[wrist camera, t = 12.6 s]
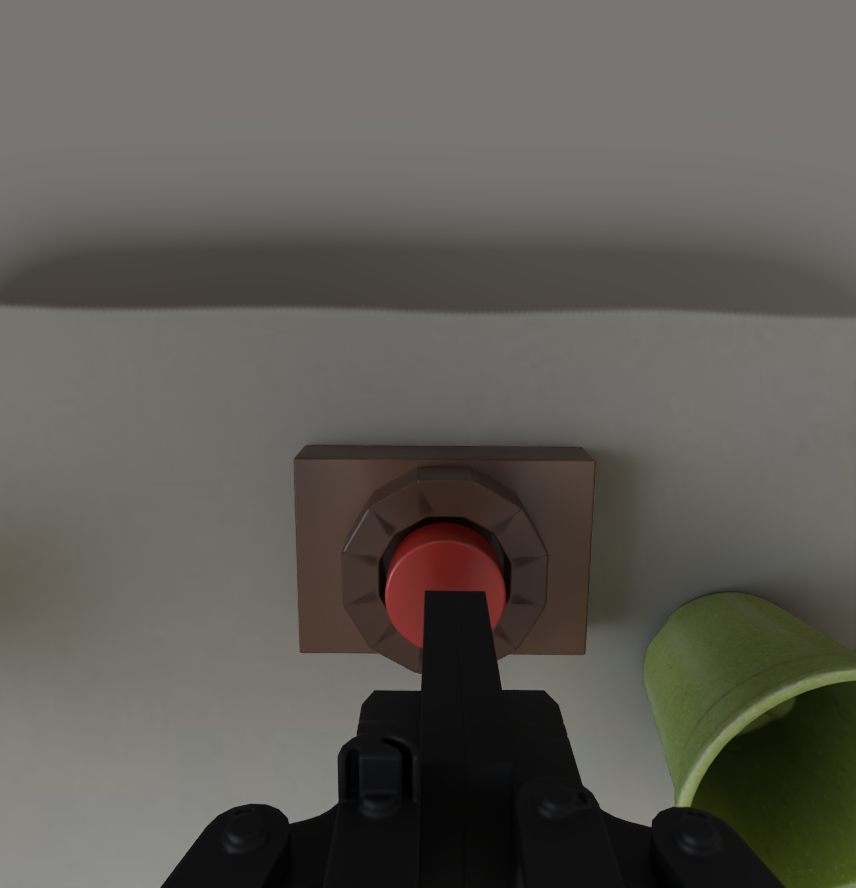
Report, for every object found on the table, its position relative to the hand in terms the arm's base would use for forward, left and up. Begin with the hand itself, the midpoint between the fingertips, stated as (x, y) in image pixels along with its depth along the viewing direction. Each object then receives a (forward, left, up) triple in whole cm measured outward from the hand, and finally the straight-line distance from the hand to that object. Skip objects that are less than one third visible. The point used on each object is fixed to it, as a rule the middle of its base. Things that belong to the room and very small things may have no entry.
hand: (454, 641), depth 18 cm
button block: (0, 0, -9) cm, 9 cm away
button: (0, 0, -5) cm, 5 cm away
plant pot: (-4, +11, -9) cm, 15 cm away
